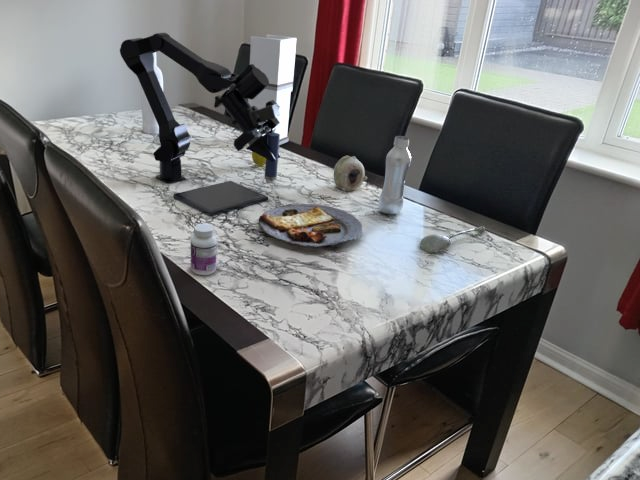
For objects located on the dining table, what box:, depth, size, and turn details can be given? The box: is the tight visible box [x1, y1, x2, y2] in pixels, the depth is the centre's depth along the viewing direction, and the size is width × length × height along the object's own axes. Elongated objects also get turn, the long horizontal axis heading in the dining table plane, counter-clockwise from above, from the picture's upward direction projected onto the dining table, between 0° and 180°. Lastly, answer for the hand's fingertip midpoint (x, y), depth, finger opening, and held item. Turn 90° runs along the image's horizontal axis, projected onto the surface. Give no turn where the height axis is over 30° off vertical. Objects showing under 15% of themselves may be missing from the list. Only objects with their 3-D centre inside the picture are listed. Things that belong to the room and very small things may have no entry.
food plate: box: [258, 202, 363, 248], centre depth 139 cm, size 25×23×4 cm
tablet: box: [173, 180, 269, 217], centre depth 156 cm, size 16×20×1 cm
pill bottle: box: [190, 223, 218, 276], centre depth 117 cm, size 5×5×10 cm
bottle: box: [140, 52, 164, 135], centre depth 205 cm, size 8×8×30 cm
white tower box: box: [247, 34, 298, 146], centre depth 201 cm, size 11×11×35 cm
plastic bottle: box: [377, 135, 412, 215], centre depth 149 cm, size 6×7×20 cm
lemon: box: [251, 151, 266, 168], centre depth 180 cm, size 6×6×8 cm
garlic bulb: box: [333, 155, 368, 192], centre depth 168 cm, size 9×8×10 cm
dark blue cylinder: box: [264, 133, 280, 185], centre depth 153 cm, size 3×3×13 cm
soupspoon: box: [419, 225, 486, 254], centre depth 139 cm, size 22×3×7 cm
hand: (276, 159), depth 152 cm, fingers closed on dark blue cylinder, 3 cm apart
